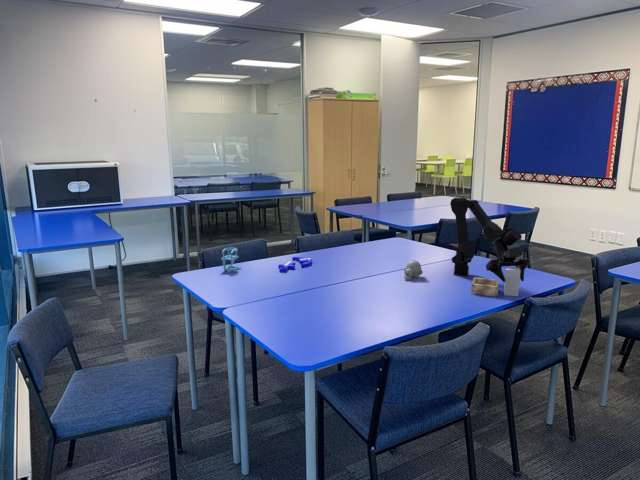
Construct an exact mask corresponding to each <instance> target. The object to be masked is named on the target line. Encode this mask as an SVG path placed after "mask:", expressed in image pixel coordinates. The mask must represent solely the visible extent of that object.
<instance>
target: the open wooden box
mask: <svg viewBox="0 0 640 480" xmlns="http://www.w3.org/2000/svg"><path fill="white" fill-rule="evenodd" d="M499 282H500V281H499V279H494V278H493V279H492V278H483V277H475V276H474V277H473V279H472V282H471V288H470V289H471V290H470V291H471V292H470V294H472V295H480V296H488V297H497V298H498V294H499V293H498V292H499V291H498V290H499Z"/></svg>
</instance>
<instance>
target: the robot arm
mask: <svg viewBox="0 0 640 480" xmlns="http://www.w3.org/2000/svg"><path fill="white" fill-rule="evenodd" d="M450 208H451V211H452V213H453V215H454V216H455V224H456V231H457V240H458V241H457V242H458V244H457V246H456V250H455V255H453V256H452V257H451V263H453V264H454V265H453V266H454V269H453V270H454V271H453V276H459V277H460V276H461V277H467V275H469V271H470V270H469V269H470V265H469V263H471V262H472V260H473V259H474V256H475V253H476V252H475V247H474V245H471V243H470V242H469V232H468V225H467V222H468V221H467V216H466V214H467V212H468V209H469V211H470V212H471V213H472V214H473V216H474V218H476V220H477V222H478V223H479V224H480V226H481V227H482V233H483V235H484V237H485V239H486V240H487V241H488V240H489V241H492V242H491V244H490V248H493V249H495V252H496V255H495V256H496V258H497V259H489V261H488V262H487V263H486V265H485V269H486V271H487V272H490V273H493V274H494V275H495V276H496V277H498V279H500V281H502V282H503V283H505V274H504V273H503V270H502V267H515V268H520V271H521V272H520V281H521V282H524V280H525V269H526V268H528V267H529V266H530V265H531V261H530V259H529V258H519V257H520V256H522V255H523V249H522V248H521V247H517V248H515V249H510V247H512V246H513V245H515V244H516V243H517V242H519V241H521V240H522V237H523V236H522V233H521V232H520V231H519V230H517V229H515V228H514V226H513V227H509V228H508V229H507V230H503V229H502V228H501V227H500V226H499V224H497V223H495V222H493V221H492V220H491V218H490V217H489V216H488V215H487V213H486V211H485V210H484V209H483V208H482V206H481V205H480V203H479V201H478V200H477V199H468V198H466V197H463V196H462V197H461V196H460V197H453V198H452V199H451V200H450ZM493 240H494V241H493ZM509 246H510V247H509ZM517 258H519V259H518V260H517ZM516 260H517V261H516Z"/></svg>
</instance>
